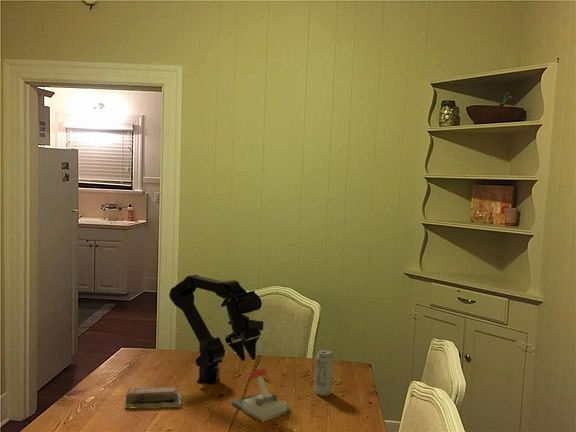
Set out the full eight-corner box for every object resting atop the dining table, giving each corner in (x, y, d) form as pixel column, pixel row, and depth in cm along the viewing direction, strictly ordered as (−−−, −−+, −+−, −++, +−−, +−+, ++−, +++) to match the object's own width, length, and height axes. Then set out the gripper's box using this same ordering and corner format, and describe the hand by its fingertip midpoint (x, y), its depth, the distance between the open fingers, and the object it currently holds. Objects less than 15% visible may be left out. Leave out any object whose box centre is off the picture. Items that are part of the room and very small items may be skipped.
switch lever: (259, 404, 169) (249, 373, 172) (271, 400, 172) (261, 370, 176) (263, 402, 168) (252, 371, 171) (275, 398, 171) (264, 368, 175)
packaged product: (124, 396, 168) (127, 383, 178) (123, 410, 169) (127, 397, 179) (181, 394, 172) (182, 382, 181) (181, 408, 172) (182, 396, 182)
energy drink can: (334, 394, 187) (337, 353, 186) (321, 397, 184) (323, 355, 183) (324, 388, 192) (326, 348, 191) (311, 391, 189) (313, 350, 188)
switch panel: (231, 404, 176) (232, 389, 175) (259, 395, 184) (260, 380, 184) (262, 422, 164) (262, 405, 164) (290, 411, 172) (291, 396, 172)
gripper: (268, 307, 182) (280, 351, 180) (247, 313, 198) (258, 354, 196) (239, 315, 177) (251, 361, 174) (219, 321, 193) (231, 363, 190)
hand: (248, 360), depth 184 cm, fingers open, 9 cm apart
